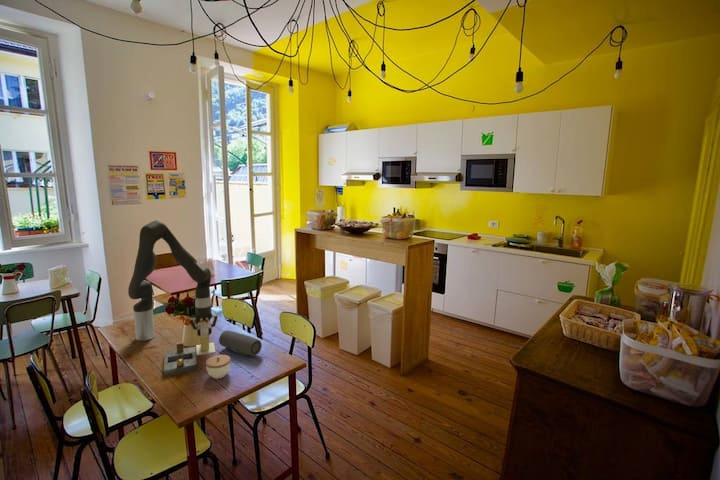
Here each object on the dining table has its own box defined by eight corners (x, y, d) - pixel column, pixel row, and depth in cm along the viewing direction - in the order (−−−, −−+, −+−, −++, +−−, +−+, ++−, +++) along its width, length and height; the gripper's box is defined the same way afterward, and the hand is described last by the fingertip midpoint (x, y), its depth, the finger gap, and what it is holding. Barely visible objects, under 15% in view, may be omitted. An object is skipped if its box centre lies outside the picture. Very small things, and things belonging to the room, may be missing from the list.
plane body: (165, 356, 180) (164, 344, 179) (195, 351, 187) (194, 339, 185) (163, 376, 163) (162, 362, 162) (197, 370, 169) (196, 356, 168)
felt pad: (196, 345, 193) (195, 345, 193) (213, 342, 197) (213, 342, 197) (196, 355, 182) (196, 355, 182) (215, 352, 186) (215, 351, 186)
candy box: (200, 343, 192) (199, 317, 190) (209, 342, 194) (207, 316, 192) (201, 351, 185) (199, 323, 182) (209, 349, 186) (208, 322, 184)
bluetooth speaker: (262, 353, 187) (262, 336, 185) (249, 361, 178) (249, 343, 177) (231, 343, 197) (231, 326, 195) (218, 350, 189) (217, 333, 187)
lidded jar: (212, 368, 171) (211, 350, 169) (234, 369, 170) (233, 351, 169) (202, 381, 160) (201, 362, 158) (225, 382, 160) (224, 363, 158)
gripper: (188, 309, 179) (190, 340, 182) (218, 305, 185) (219, 335, 188) (188, 304, 185) (189, 334, 188) (217, 300, 192) (218, 330, 195)
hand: (204, 334), depth 188 cm, fingers closed on candy box, 4 cm apart
